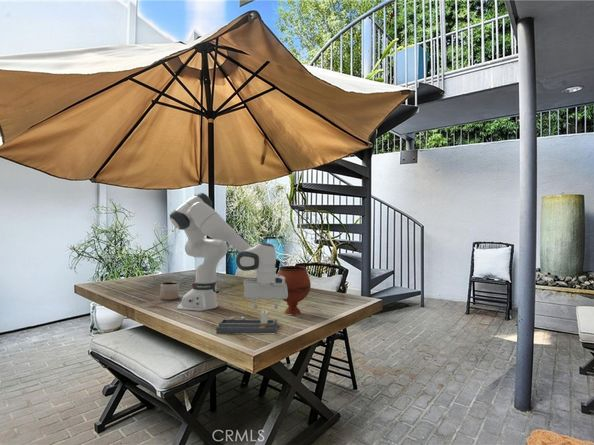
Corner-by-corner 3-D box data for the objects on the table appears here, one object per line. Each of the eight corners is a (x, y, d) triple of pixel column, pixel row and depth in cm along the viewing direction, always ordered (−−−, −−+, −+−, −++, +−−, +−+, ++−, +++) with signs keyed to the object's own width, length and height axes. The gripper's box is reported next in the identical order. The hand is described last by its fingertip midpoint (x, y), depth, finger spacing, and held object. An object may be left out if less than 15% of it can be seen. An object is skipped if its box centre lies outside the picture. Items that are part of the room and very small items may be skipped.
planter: (156, 299, 209) (156, 284, 209) (168, 295, 220) (168, 281, 220) (171, 300, 206) (171, 285, 206) (182, 297, 216) (182, 282, 216)
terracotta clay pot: (267, 313, 181) (267, 266, 181) (292, 307, 195) (293, 263, 194) (291, 320, 167) (292, 270, 167) (317, 313, 181) (318, 267, 181)
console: (216, 333, 147) (216, 324, 147) (222, 324, 160) (222, 315, 160) (275, 334, 147) (275, 324, 147) (277, 324, 160) (277, 316, 160)
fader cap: (260, 324, 152) (260, 313, 152) (261, 321, 156) (261, 310, 156) (267, 324, 152) (267, 313, 152) (268, 321, 156) (268, 310, 156)
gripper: (242, 279, 151) (242, 309, 151) (288, 279, 151) (287, 310, 152) (244, 276, 157) (244, 306, 158) (288, 277, 158) (287, 306, 158)
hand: (265, 308), depth 155 cm, fingers open, 8 cm apart
